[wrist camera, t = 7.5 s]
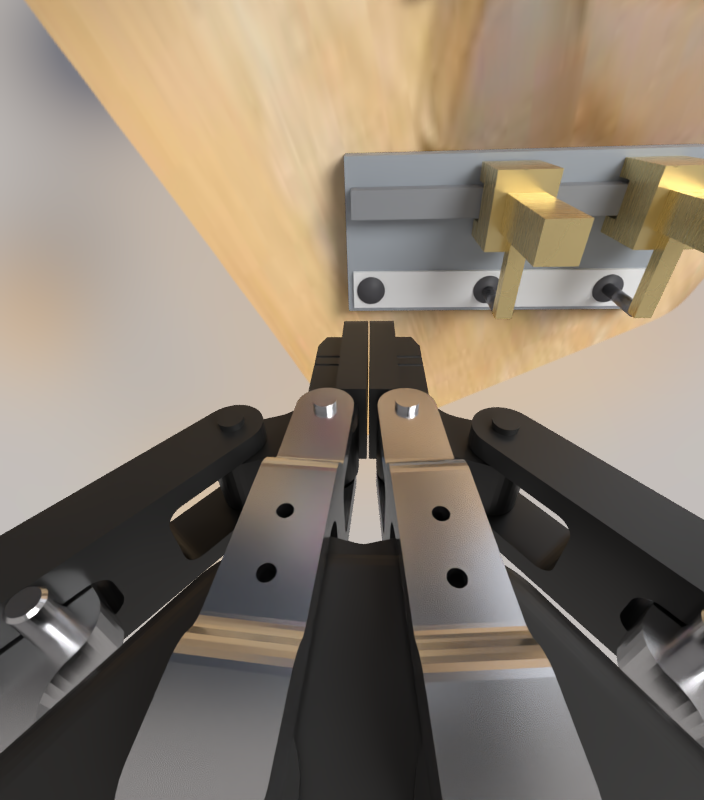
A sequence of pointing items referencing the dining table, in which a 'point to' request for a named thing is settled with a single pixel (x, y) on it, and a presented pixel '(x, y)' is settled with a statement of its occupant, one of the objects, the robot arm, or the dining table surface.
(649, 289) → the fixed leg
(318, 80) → the dining table surface
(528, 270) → the board
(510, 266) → the slider
